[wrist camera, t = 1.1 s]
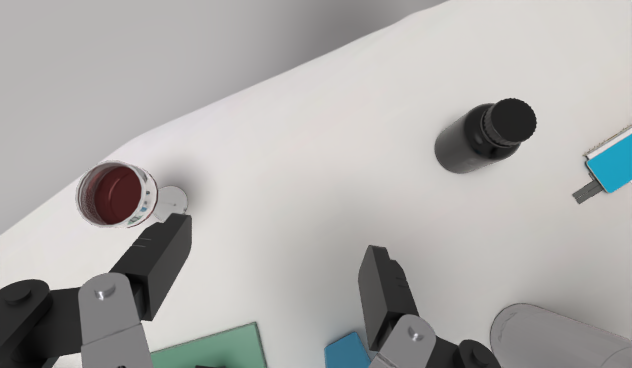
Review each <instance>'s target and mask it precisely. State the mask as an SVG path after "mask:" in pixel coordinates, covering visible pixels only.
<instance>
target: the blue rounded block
mask: <svg viewBox="0 0 632 368" xmlns="http://www.w3.org/2000/svg"><path fill="white" fill-rule="evenodd" d="M324 352H325V364H326V368H368V367H369V365H370V364H371V361H370V359H369V357H368V355H367V353H366V351H365V349H364V347H363V345H362V342H361V340H360V338H359V336H358V335H357V333H356V332H353V333H351V334H349V335H348V336H346V337H344V338H342V339H340V340H338V341H337V342H335V343H333V344H331V345H329V346H327V347H326V348H325V349H324Z"/></svg>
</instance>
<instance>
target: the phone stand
mask: <svg viewBox="0 0 632 368" xmlns="http://www.w3.org/2000/svg"><path fill="white" fill-rule="evenodd" d="M589 150H590V149H589ZM585 155H586V156H588V158H589V159H590V160H588V161H587V163H586V165H587V166H588V167H589V169H590V170H591V172H590V173H589V175H590V177H591V178H592V179H593V181H592V182H590V183H589V184H587V185H586V186H584V188H582V189H581V190H579V191H577V192H576V193H574V194H573V196H574V197H575V198H576V199H577V198H578V197H580V196H581V195H583V194H584V195H583V196H581V197H580V198H578V199H577V201H578V203H579V204H581V203H582V202H584V201H585V200H587V199H588V198H590V197H592V196H594V195H596V194H597V193H599V192H600V191H602V190H603V189H605V191H606V192H607V193H613V192H614V191H616V190H617V189H619V188H620V187H622V186H623V185H625V184H627V183H628V182H631V184H632V125H630V127H628V128H625V130H623V131H621V132H620V133H619V134H616V135H615V136H613V137H612V138H610V139H608V140H607V141H606V142H604V143H602V144H601V145H600V143H599V146H597V147H596V148H595V146H594V149H592V150H591V151H589V152H587V153H586V154H585ZM585 155H583V156H585ZM586 192H588V193H586ZM585 193H586V194H585Z"/></svg>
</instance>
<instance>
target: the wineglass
mask: <svg viewBox="0 0 632 368" xmlns="http://www.w3.org/2000/svg"><path fill="white" fill-rule="evenodd" d="M75 201H76V205H77V210H78V211H79V213H80V214H81V216H82V217H83V219H85V220H86V221H87V222H89V223H90V224H91V225H94V226H98V227H101V228H130V227H133V226H136V225H139V224H141V223H142V222H143V221H145V220H146V219H148V218H149V217H150V216H151V214H152V213H154V215H155V216H156V217H157V218H158V219H159V220H162V221H166V219H167V218H168V217H169V216H170V214H171V213H179V214H184V213H185V211H186V208H187V203H188V200H187V197H186V194H185V193H184V192H183V190H181V189H180V188H178V187H175V186H166V187H163V188H161V189H160V190H158V186H157V184H156V182H155V180H154V179H153V177H152V176H151V175H150V174H149V173H148V172H146V171H145V170H144V169H142V168H140V167H138V166H135V165H131V164H128V163H124V162H121V161H118V160H117V161H105V162H102V163H98V164H96V165H95V166H93V167H92V168H90V169H89V170H88V171H87V172H86V173H85V174H84V175H83V177H82V178H81V179H80V181H79V184H78V186H77V188H76V197H75Z"/></svg>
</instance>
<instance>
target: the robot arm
mask: <svg viewBox="0 0 632 368" xmlns="http://www.w3.org/2000/svg"><path fill="white" fill-rule="evenodd" d="M191 244H192V218H191V216H190V215H185V214H179V213H171V214H170V216H169V217H168V218H167V219H166V221H165V222H164V223H160V222H156V223H154V224H153V225H151V226H149V227H148V228H146V229H145V230H144V231H143V232H142V233H141V235H140V236H139V237H138V239H136V241H135V242H134V243H133V244H132V246H130V248H129V249H128V250H127V251H126V252H125V254H124V255H123V256H122V257H121V258H120V259H119V261H118V262H117V263H116V264H115V265H114V267H113V268H112V269H111V270H110V271H109V272H108V273H105V274H101V275H98V276H95V277H93V278H92V279H90V280H88V281H87V282H86V283H85V284H83V286H82V287H77V288H69V289H60V290H51V291H50V289H49V286H48V284H47V283H46V282H44V281H41V280H36V279H30V280H23V281H19V282H15V283H12V284H10V285H8V286H6V287H4V288H2V289H0V368H52V367H53V365H54V364H55V362H56V361H57V360H58V358H59V357H60V356H64V355H69V354H75V353H81V356H82V367H83V368H154V367H153V363H152V359H151V355H150V352H149V348H148V344H147V340H146V337H145V333H144V329H143V326H142V323H140V322H141V320H145V321H152V320H153V318H154V317H155V315H156V313H157V311H158V309H159V308H160V306H161V304H162V302H163V301H164V299H165V297H166V295H167V293H168V292H169V290H170V288H171V286H172V284H173V283H174V281H175V279H176V277H177V275H178V274H179V272H180V270H181V268H182V267H183V265H184V263H185V261H186V259H187V258H188V255H189V253H190V250H191ZM358 283H359V289H360V296H361V302H362V308H363V314H364V320H365V326H366V333H367V339H368V345H369V350H371V351H379V353H377V354H376V356H375V357H374V359H373V361H372V362H371V364H370V365H369V367H368V368H501V366H502V367H503V368H632V340H629V339H627V338H624V337H621V336H618V335H615V334H612V333H610V332H607V331H604V330H601V329H598V328H595V327H593V326H590V325H587V324H584V323H581V322H578V321H576V320H573V319H570V318H567V317H564V316H561V315H559V314H556V313H553V312H550V311H548V310H545V309H542V308H539V307H536V306H533V305H529V304H516V305H512V306H510V307H508V308H506V309H504V310H503V311H502V312H501V313H500V314H499V315H498V316H497V318H496V319H495V321H494V323H493V325H492V329H491V334H490V336H491V347H492V351H493V353H494V354H493V353H492V352H491V351H490V350H489V349H488V348H487V347H485V346H484V345H482V344H481V343H479V342H477V341H474V340H463V341H462V342H461V343H460V345H459V346H458V345H455V344H453V343H451V342H448V341H446V340H444V339H441V338H439V337H438V336H436V335H435V333H434V331H433V329H432V327H431V326H430V325H429V324H428V323H427V322H426V321H425V320H423V319H422V318H420V316H419V313H418V311H417V308H416V305H415V302H414V299H413V296H412V294H411V291H410V289H409V285H408V282H407V281H406V277H405V274H404V271H403V269H402V268H401V266H400V265H399V264H398V263H397V262H396V260H390V258H389V255H388V252H387V249H386V248H385V247H379V246H373V245H369V246H368V248H367V251H366V253H365V256H364V259H363V262H362V264H361V267H360V270H359V276H358ZM500 365H501V366H500ZM195 368H217V367H208V366H200V365H196V366H195Z"/></svg>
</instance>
